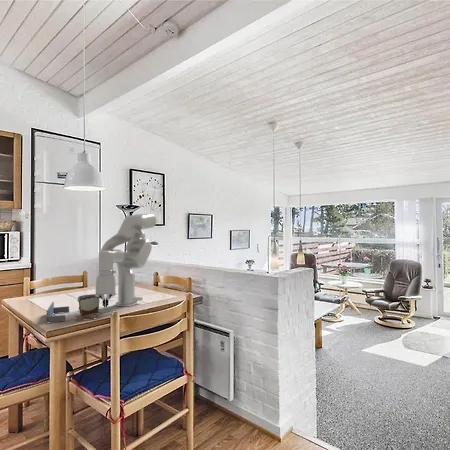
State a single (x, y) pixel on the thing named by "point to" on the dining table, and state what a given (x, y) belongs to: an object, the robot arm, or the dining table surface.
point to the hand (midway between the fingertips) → (105, 306)
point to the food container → (88, 304)
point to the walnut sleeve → (86, 317)
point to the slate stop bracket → (56, 310)
